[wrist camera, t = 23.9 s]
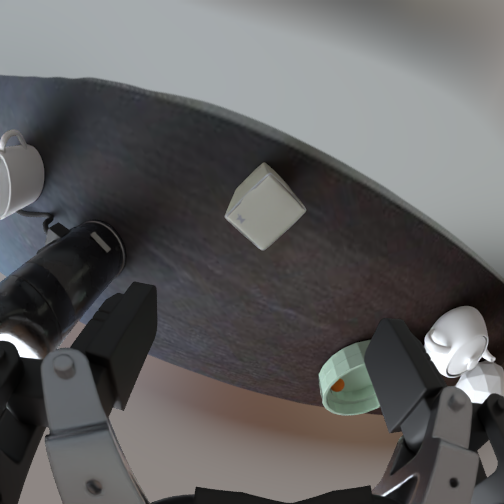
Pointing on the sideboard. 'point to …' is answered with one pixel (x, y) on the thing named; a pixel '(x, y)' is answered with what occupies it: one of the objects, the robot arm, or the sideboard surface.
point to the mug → (19, 175)
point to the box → (264, 207)
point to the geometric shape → (482, 381)
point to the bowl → (348, 382)
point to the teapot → (458, 341)
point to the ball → (338, 385)
